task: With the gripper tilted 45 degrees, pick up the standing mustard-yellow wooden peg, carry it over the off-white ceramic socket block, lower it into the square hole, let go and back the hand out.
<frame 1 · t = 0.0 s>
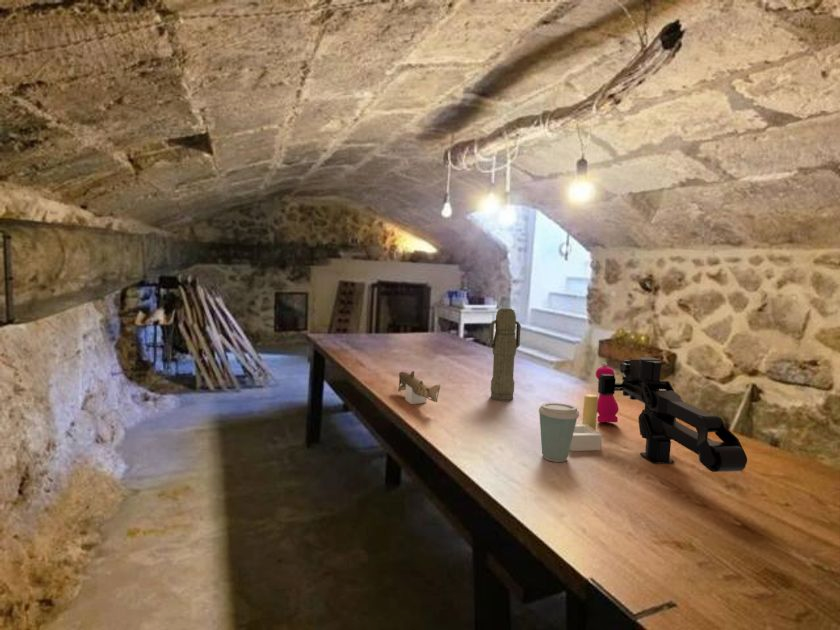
hand: (615, 378, 160), 17 cm above the table, tool horizontal, fingers open, 9 cm apart
pepper mill: (607, 422, 164), point 1 cm above the table
socket: (578, 444, 146), on the table
wood carving: (418, 403, 183), on the table
peg: (588, 434, 154), on the table
thermos: (502, 398, 193), on the table
disposable coffee cup: (555, 458, 136), on the table
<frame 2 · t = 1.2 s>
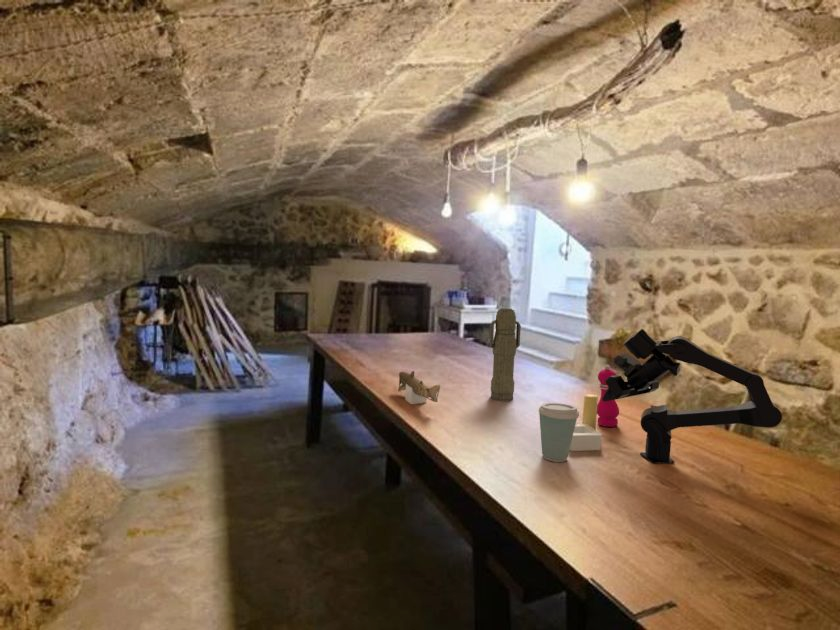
hand: (612, 398, 146), 14 cm above the table, tool tilted 45°, fingers open, 9 cm apart
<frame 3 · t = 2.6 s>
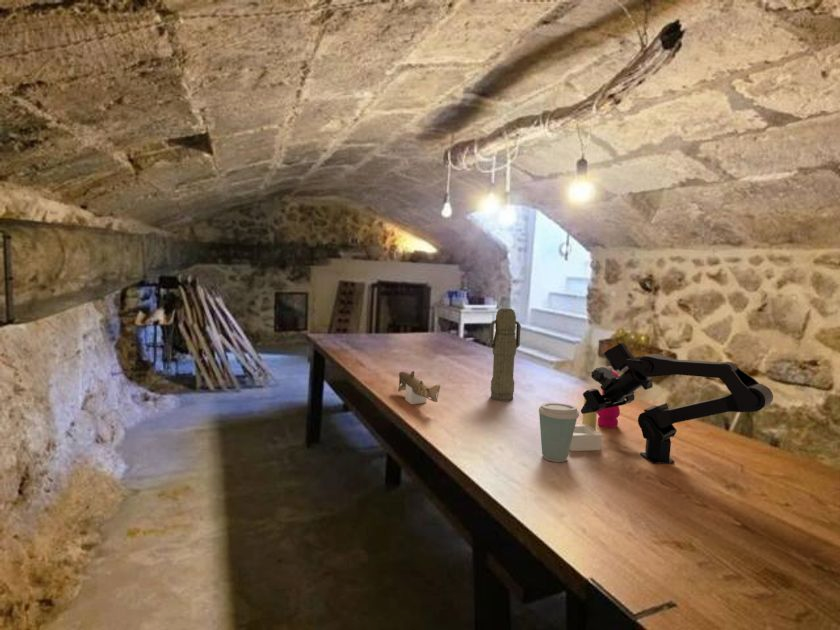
hand: (591, 410, 153), 8 cm above the table, tool tilted 45°, fingers open, 9 cm apart
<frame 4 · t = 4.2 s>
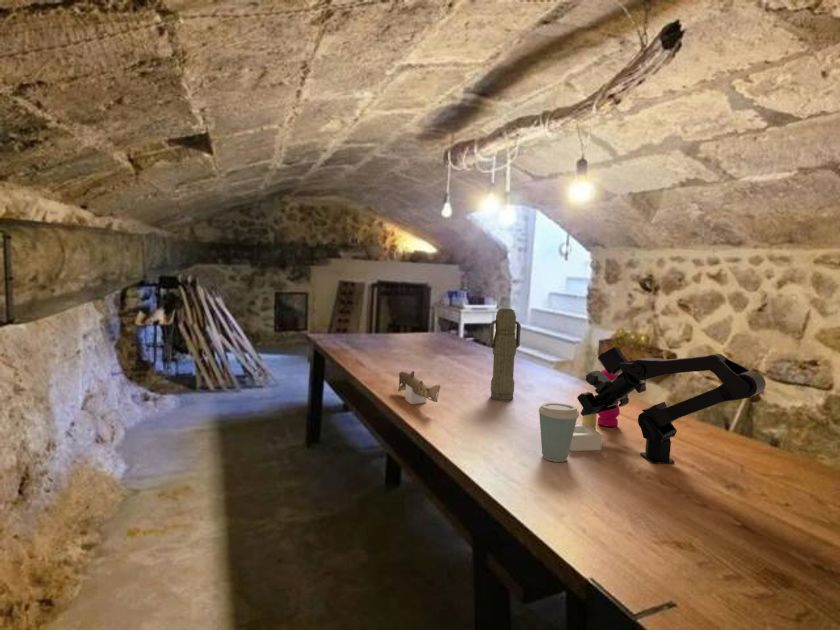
hand: (586, 413, 154), 7 cm above the table, tool tilted 45°, fingers closed on peg, 4 cm apart
peg: (588, 434, 154), on the table, touching gripper
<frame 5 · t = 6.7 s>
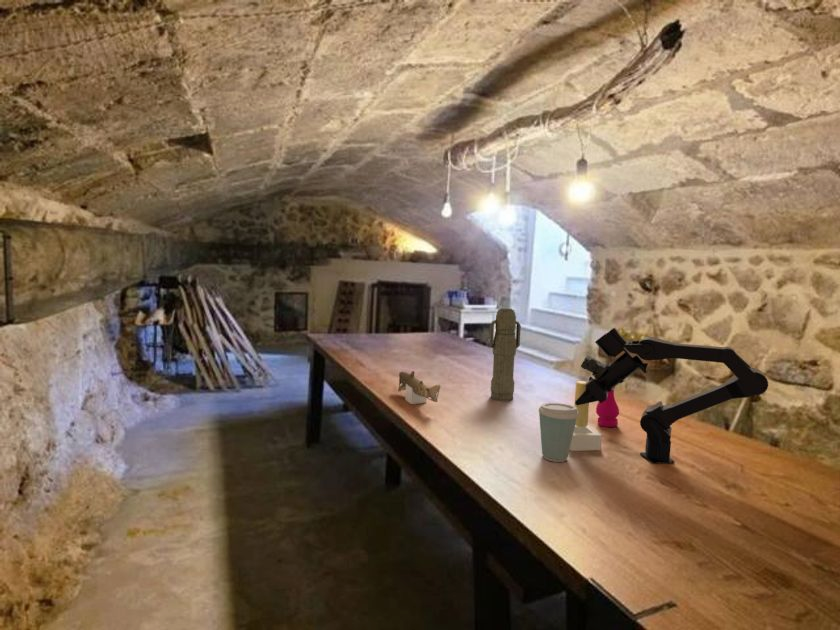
hand: (576, 402, 145), 13 cm above the table, tool tilted 45°, fingers closed on peg, 4 cm apart
peg: (580, 424, 145), point 6 cm above the table, touching gripper
when the fingers open (9 cm above the table, at t = 8.4 s): peg drops 2 cm, resting in socket.
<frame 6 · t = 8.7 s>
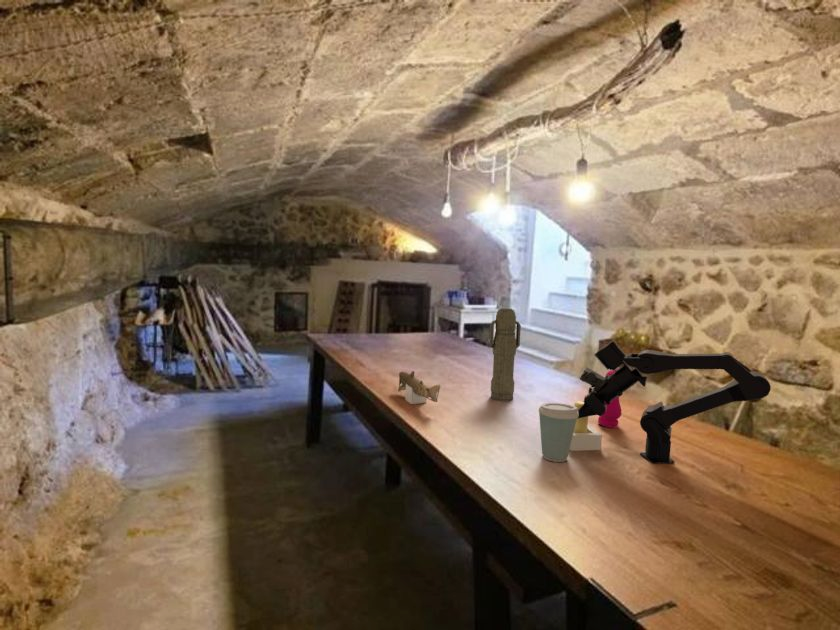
hand: (575, 413, 145), 9 cm above the table, tool tilted 45°, fingers open, 7 cm apart
peg: (579, 444, 146), resting in socket
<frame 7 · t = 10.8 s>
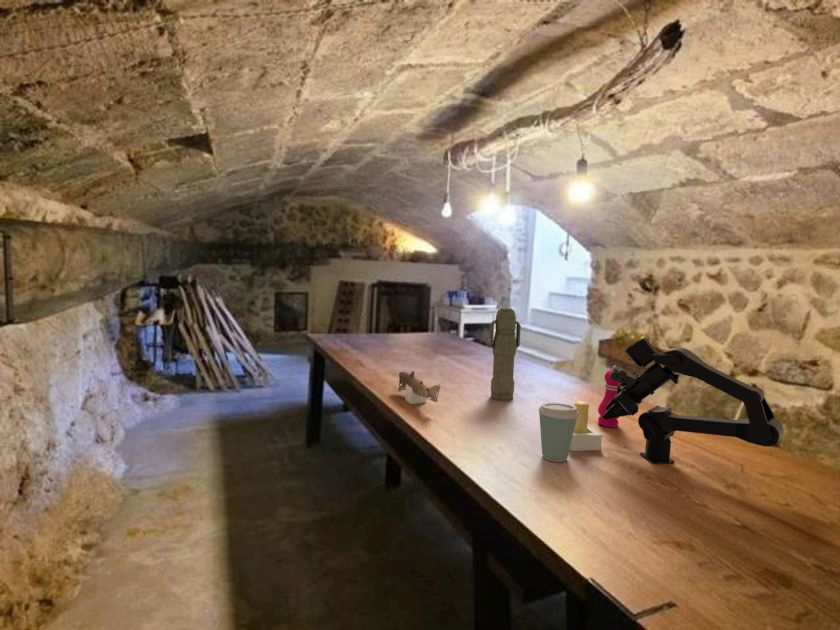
hand: (604, 413, 142), 11 cm above the table, tool tilted 45°, fingers open, 9 cm apart
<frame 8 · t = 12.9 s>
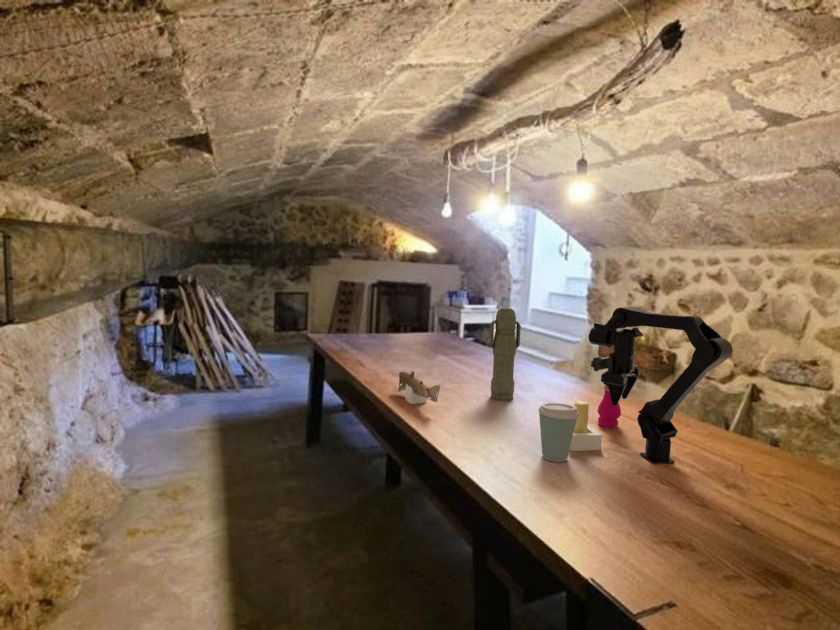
hand: (619, 401, 145), 13 cm above the table, tool pointing down, fingers open, 9 cm apart
at the end: peg 0.0 cm off-centre on the socket, point 0.0 cm above the socket's base; peg tilted 0°; the gripper is holding nothing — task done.
